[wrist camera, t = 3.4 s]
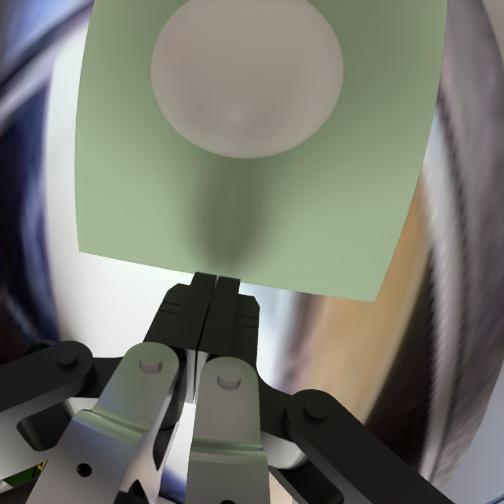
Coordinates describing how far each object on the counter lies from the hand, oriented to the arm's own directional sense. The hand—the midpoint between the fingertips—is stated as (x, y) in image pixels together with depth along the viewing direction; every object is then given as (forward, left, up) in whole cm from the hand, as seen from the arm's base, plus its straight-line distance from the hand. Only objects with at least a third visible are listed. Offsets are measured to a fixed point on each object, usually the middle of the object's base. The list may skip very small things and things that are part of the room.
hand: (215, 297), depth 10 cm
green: (+8, -8, -4) cm, 12 cm away
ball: (+5, -5, +1) cm, 7 cm away
